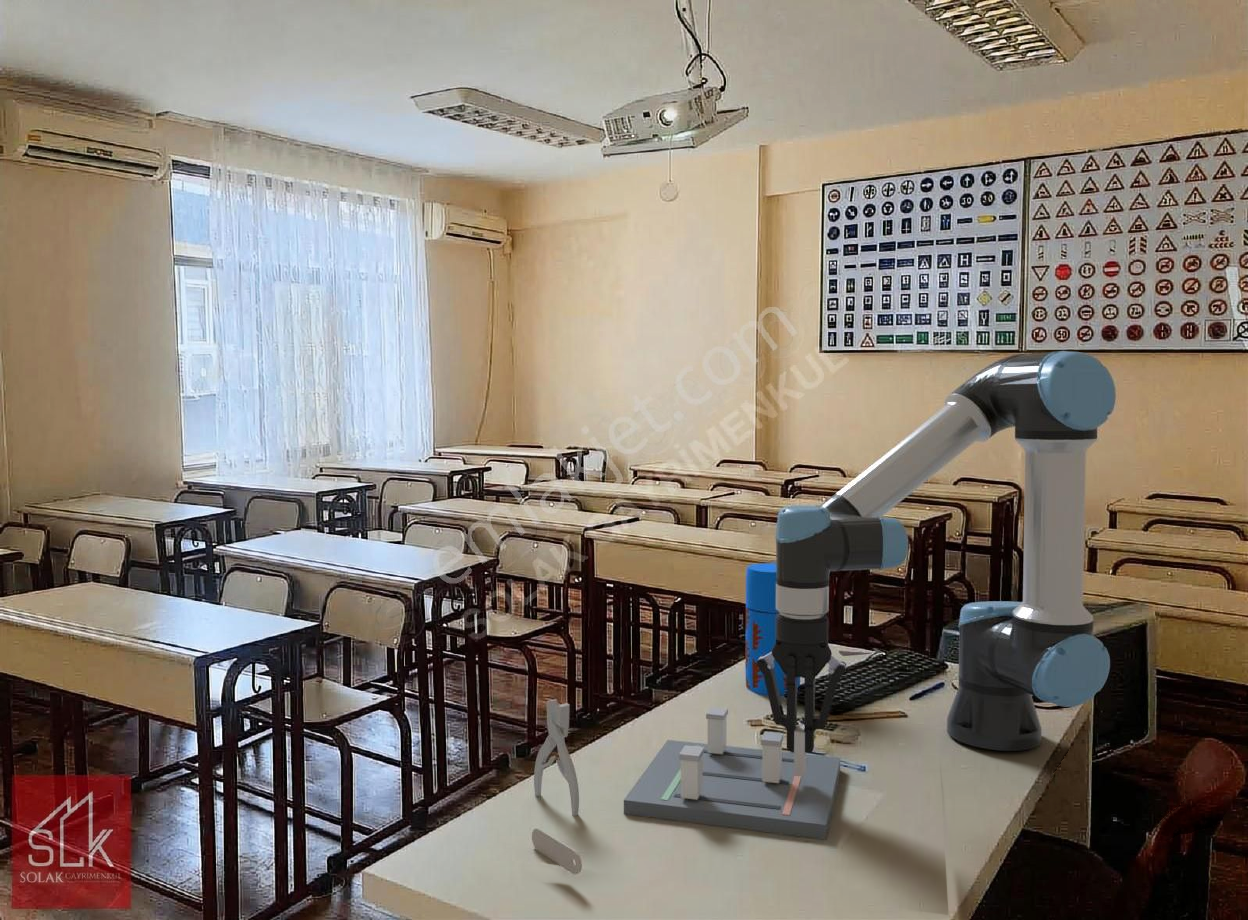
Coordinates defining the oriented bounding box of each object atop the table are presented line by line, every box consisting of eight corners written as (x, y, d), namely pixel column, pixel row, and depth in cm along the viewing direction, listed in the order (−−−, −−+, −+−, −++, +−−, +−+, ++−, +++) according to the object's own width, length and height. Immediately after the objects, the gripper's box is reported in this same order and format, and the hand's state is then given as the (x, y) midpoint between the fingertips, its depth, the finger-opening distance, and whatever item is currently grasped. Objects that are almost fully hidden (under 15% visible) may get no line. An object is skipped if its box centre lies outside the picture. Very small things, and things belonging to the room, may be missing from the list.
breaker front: (704, 790, 138) (704, 747, 138) (698, 800, 135) (698, 756, 135) (684, 787, 139) (685, 745, 139) (679, 797, 136) (679, 753, 135)
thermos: (798, 684, 198) (799, 563, 196) (802, 701, 187) (804, 572, 185) (744, 683, 199) (745, 562, 197) (745, 699, 188) (746, 572, 186)
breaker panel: (840, 770, 152) (840, 756, 152) (825, 839, 128) (825, 823, 128) (667, 751, 160) (667, 739, 160) (623, 813, 137) (623, 799, 136)
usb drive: (831, 660, 217) (831, 648, 217) (881, 658, 219) (881, 646, 219) (841, 667, 212) (841, 655, 212) (892, 664, 214) (892, 652, 214)
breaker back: (727, 746, 156) (728, 708, 155) (723, 754, 152) (723, 715, 152) (710, 745, 156) (710, 706, 156) (706, 752, 153) (706, 713, 153)
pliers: (584, 813, 137) (583, 709, 136) (575, 816, 136) (574, 711, 135) (542, 792, 144) (542, 693, 143) (534, 794, 143) (533, 695, 142)
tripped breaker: (783, 774, 144) (783, 733, 144) (779, 783, 141) (780, 741, 140) (764, 772, 145) (764, 731, 145) (760, 781, 141) (761, 739, 141)
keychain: (583, 876, 119) (583, 852, 119) (579, 878, 119) (579, 854, 118) (535, 846, 127) (535, 823, 127) (531, 847, 127) (531, 825, 127)
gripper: (849, 610, 142) (847, 768, 143) (760, 605, 145) (759, 758, 147) (846, 621, 134) (843, 787, 136) (752, 615, 138) (751, 777, 140)
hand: (800, 772), depth 141 cm, fingers closed
